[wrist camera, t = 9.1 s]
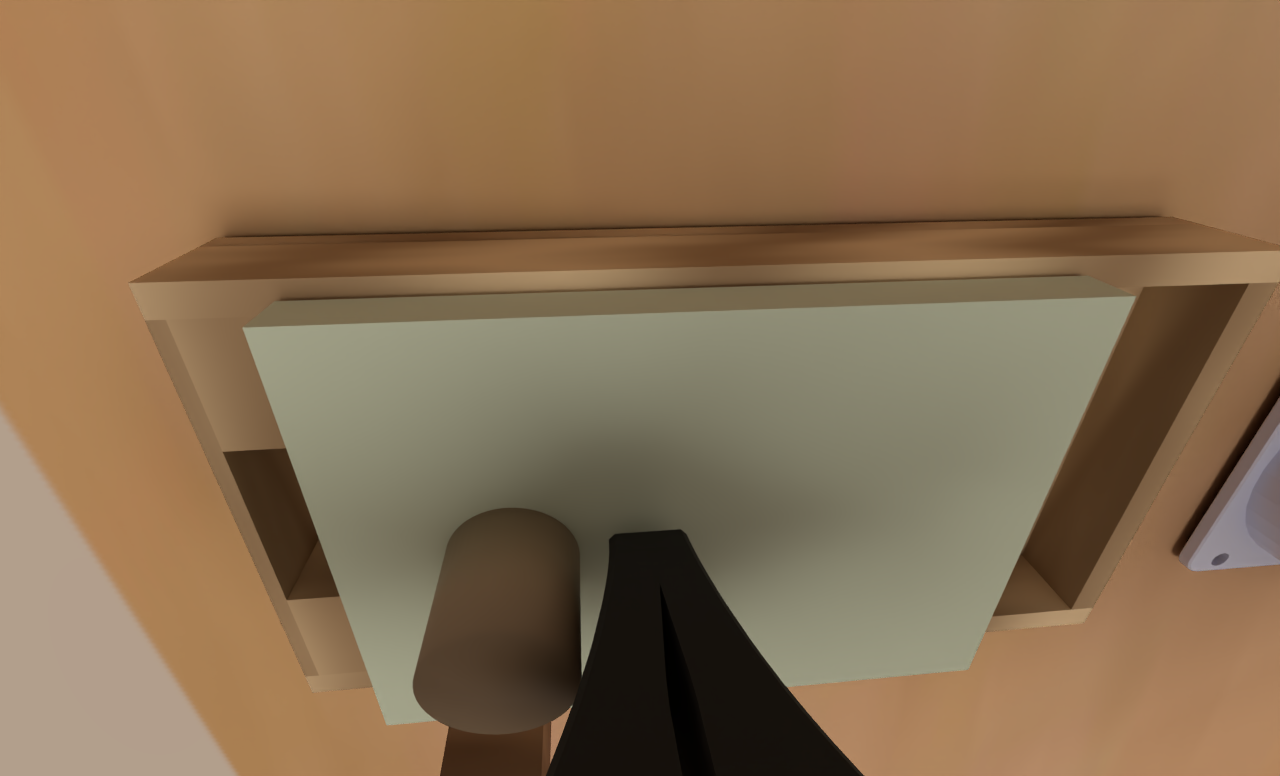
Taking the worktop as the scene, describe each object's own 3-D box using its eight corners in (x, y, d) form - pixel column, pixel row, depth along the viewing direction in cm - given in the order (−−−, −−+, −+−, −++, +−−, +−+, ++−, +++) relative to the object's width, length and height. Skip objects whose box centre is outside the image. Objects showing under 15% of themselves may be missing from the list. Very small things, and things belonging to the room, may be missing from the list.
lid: (1087, 275, 10) (1310, 369, 7) (944, 633, 15) (1041, 782, 12) (274, 301, 9) (119, 427, 6) (398, 682, 14) (348, 863, 10)
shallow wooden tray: (1172, 216, 13) (1297, 250, 10) (1021, 553, 18) (1083, 623, 15) (216, 238, 11) (128, 283, 9) (348, 605, 16) (312, 692, 14)
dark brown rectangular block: (552, 685, 18) (545, 932, 13) (474, 692, 18) (437, 946, 13) (546, 635, 17) (536, 885, 12) (464, 642, 17) (417, 899, 12)
